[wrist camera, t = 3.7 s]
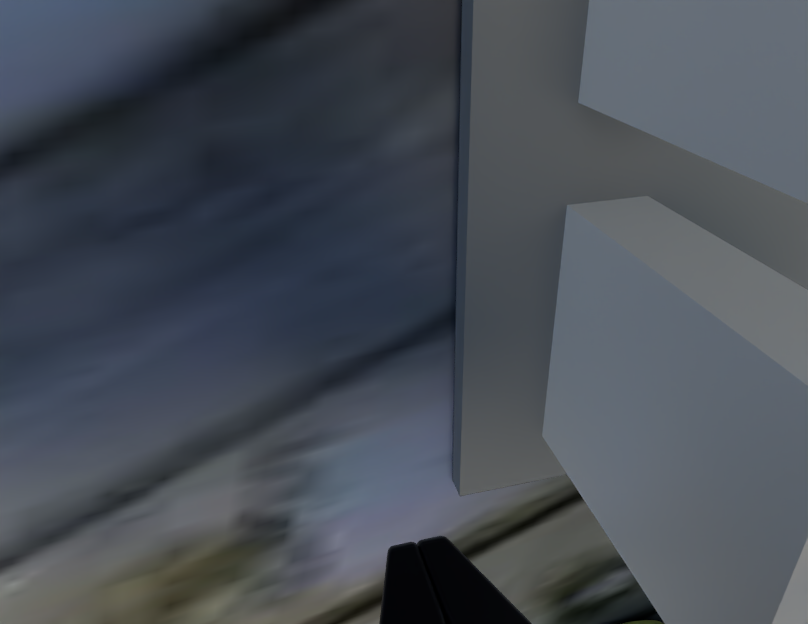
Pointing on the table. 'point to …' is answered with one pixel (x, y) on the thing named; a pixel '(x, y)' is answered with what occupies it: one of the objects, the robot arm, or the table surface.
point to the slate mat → (557, 220)
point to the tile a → (684, 411)
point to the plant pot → (644, 622)
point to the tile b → (707, 80)
